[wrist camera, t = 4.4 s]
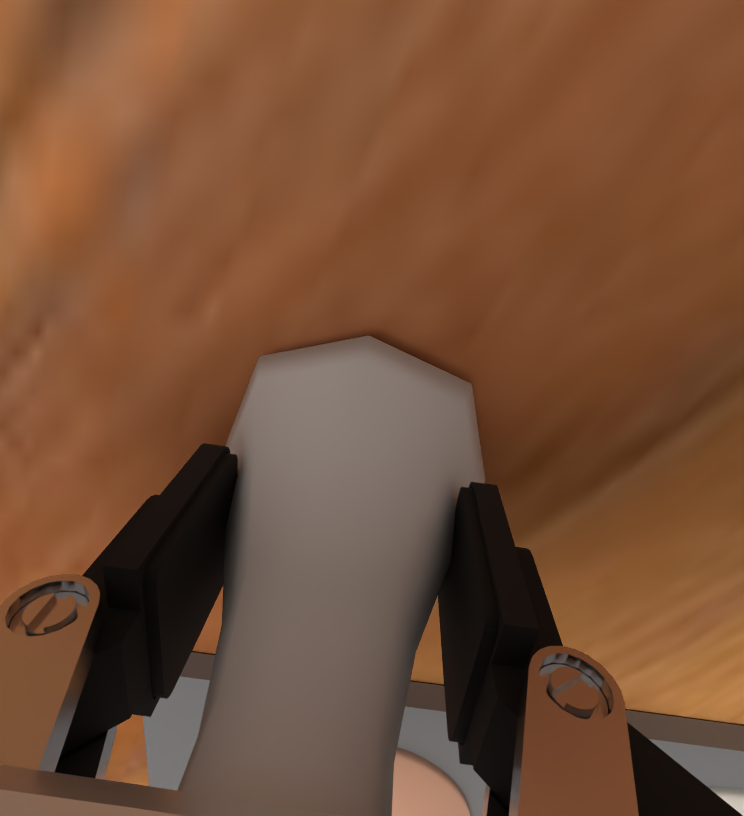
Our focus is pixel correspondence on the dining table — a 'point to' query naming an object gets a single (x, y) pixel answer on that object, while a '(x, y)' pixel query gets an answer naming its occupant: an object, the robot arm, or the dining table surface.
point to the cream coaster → (731, 797)
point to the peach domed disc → (424, 789)
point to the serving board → (437, 736)
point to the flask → (330, 572)
